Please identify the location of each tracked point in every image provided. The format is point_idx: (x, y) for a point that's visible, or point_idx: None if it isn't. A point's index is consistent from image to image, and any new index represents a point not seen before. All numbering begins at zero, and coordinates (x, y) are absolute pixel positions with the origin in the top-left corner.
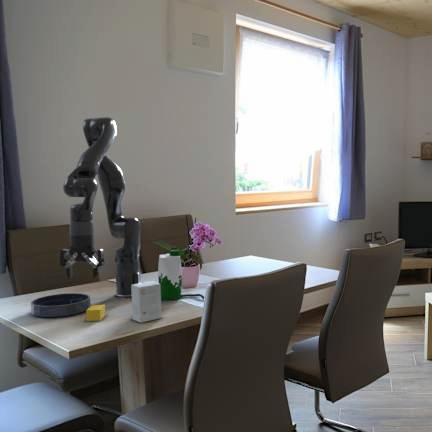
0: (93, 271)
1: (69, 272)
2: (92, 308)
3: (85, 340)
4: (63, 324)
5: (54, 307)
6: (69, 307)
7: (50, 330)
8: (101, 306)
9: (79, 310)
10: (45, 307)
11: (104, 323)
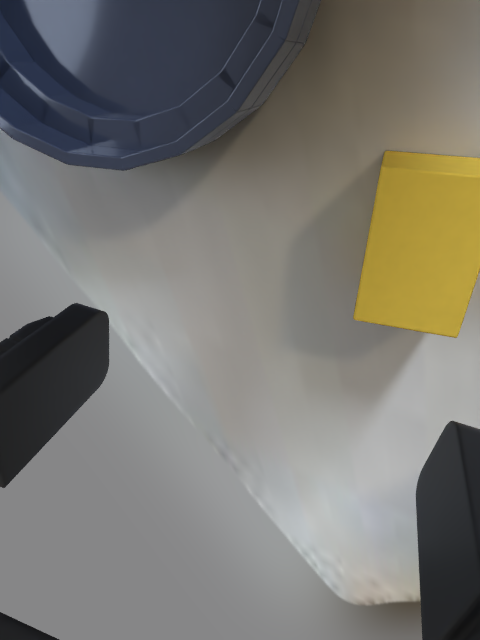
0: (431, 592)
1: (51, 431)
2: (396, 281)
3: (386, 551)
4: (241, 302)
5: (114, 168)
6: (207, 138)
7: (210, 377)
8: (471, 238)
9: (278, 75)
10: (57, 155)
11: (474, 363)
